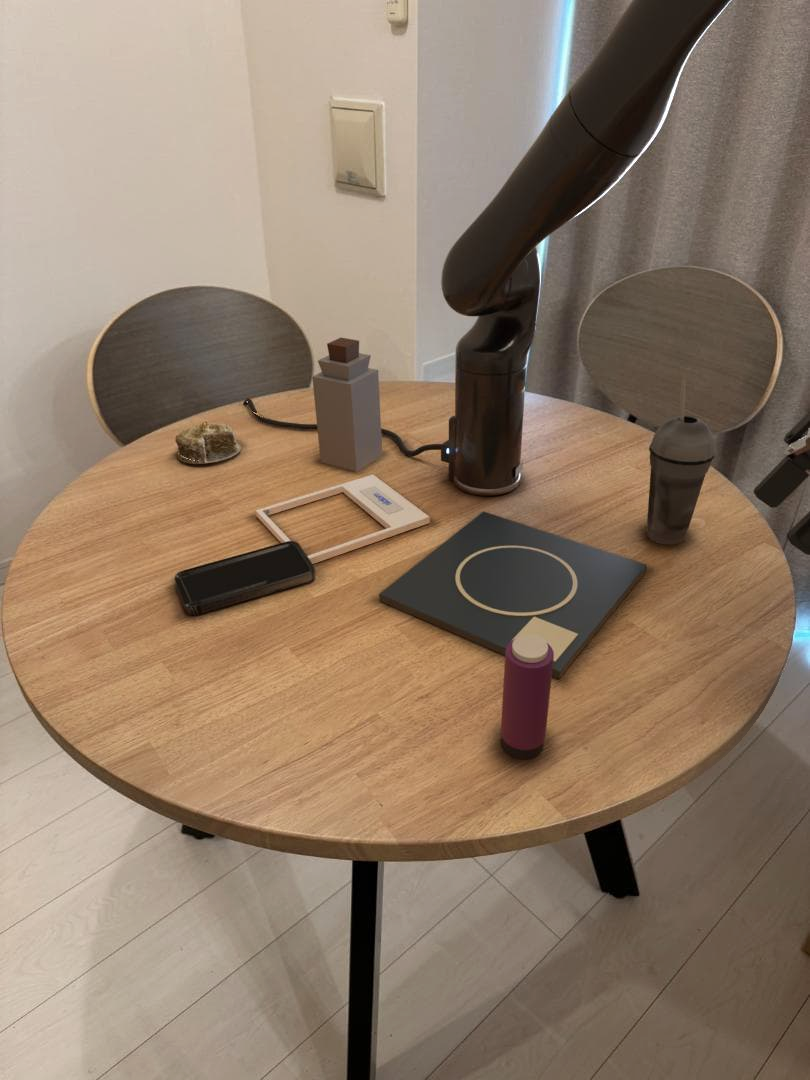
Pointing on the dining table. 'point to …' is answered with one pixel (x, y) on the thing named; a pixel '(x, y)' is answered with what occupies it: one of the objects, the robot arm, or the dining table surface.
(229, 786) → the dining table surface
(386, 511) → the photo frame
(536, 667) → the dot marker
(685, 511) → the beverage cup
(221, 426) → the cake
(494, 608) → the slate board
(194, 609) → the phone
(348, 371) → the perfume bottle
